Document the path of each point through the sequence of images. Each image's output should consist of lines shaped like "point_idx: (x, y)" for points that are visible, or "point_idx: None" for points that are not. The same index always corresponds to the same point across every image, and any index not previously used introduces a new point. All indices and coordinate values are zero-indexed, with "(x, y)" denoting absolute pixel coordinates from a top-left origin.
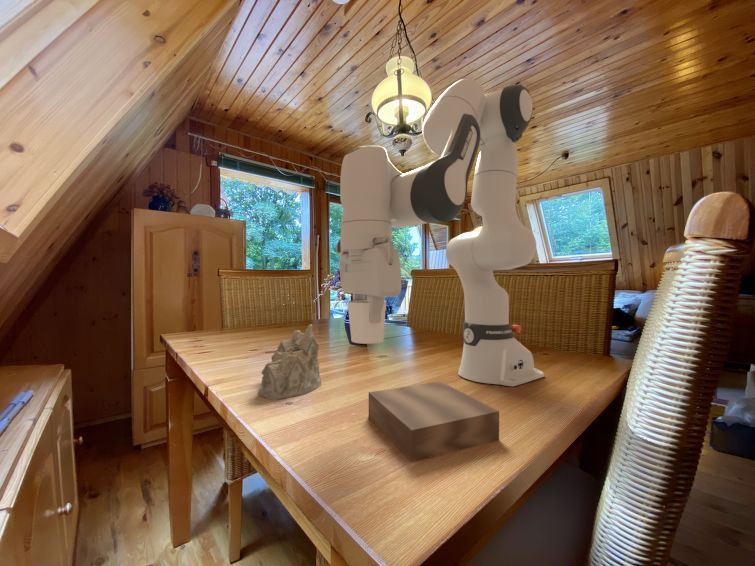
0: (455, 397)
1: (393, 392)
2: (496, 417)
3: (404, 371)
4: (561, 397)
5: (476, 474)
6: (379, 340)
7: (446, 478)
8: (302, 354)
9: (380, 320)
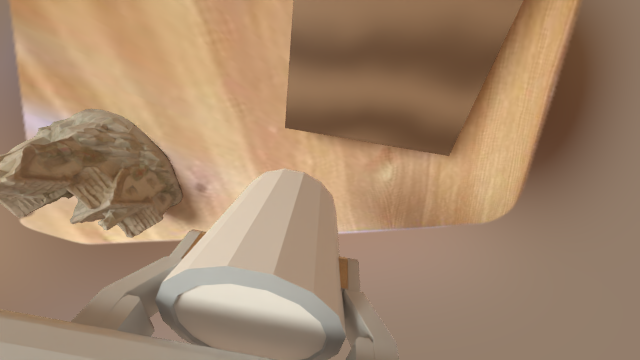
0: None
1: (309, 84)
2: None
3: None
4: None
5: (516, 86)
6: (333, 203)
7: (486, 125)
8: (82, 185)
9: (358, 264)
